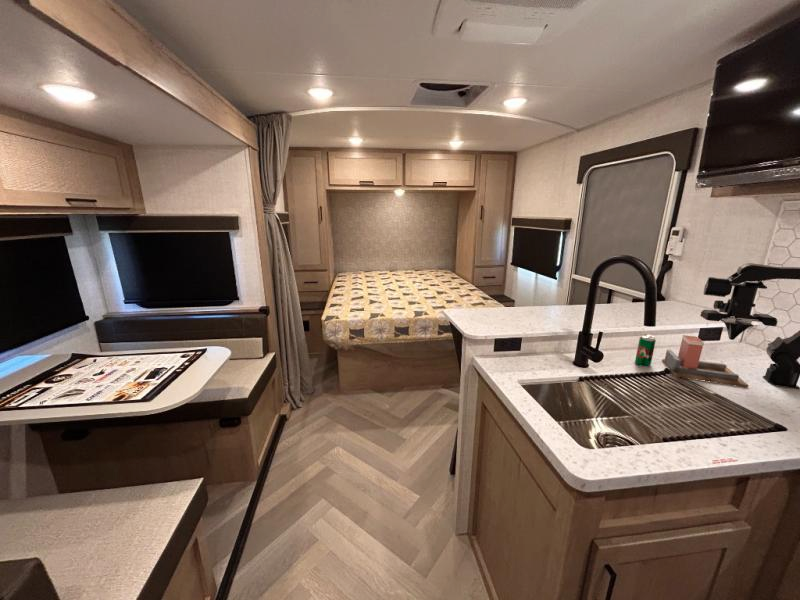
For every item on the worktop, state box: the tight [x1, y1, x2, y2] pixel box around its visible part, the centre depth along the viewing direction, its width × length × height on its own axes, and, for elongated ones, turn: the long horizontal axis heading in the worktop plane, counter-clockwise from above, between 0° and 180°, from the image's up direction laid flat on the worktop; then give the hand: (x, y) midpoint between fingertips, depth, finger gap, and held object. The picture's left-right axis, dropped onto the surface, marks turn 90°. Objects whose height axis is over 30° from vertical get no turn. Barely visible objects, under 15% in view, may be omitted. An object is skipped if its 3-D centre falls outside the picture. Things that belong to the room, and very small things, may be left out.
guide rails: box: [664, 349, 740, 381], centre depth 117 cm, size 18×10×5 cm, turn 67°
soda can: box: [634, 334, 657, 367], centre depth 124 cm, size 5×5×12 cm
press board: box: [661, 358, 749, 388], centre depth 118 cm, size 20×14×1 cm
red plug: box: [677, 335, 705, 369], centre depth 118 cm, size 4×6×12 cm
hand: (731, 339), depth 116 cm, fingers closed
